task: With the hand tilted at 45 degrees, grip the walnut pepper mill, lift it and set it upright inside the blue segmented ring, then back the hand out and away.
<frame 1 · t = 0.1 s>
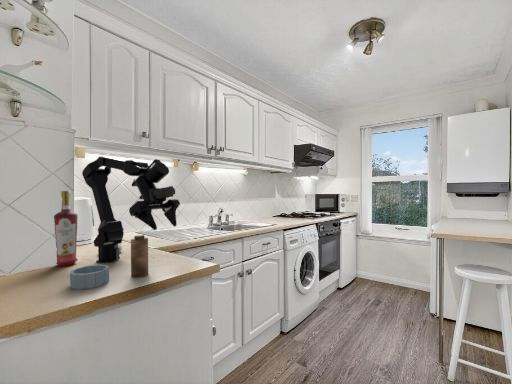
hand: (166, 227, 92), 15 cm above the counter, tool tilted 35°, fingers open, 9 cm apart
blue segmented ring: (90, 283, 80), on the counter
pepper mill: (139, 275, 87), on the counter
liquor: (66, 265, 101), on the counter
sea urchin shell: (110, 254, 118), on the counter
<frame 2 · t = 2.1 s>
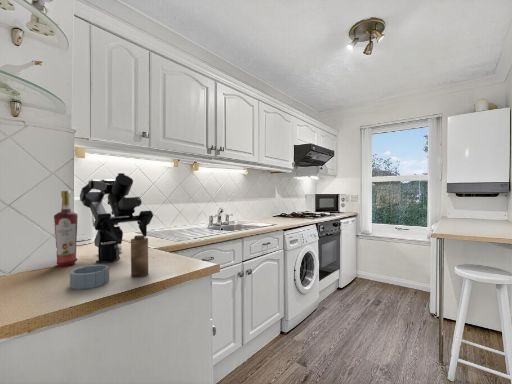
hand: (132, 238, 91), 12 cm above the counter, tool tilted 45°, fingers open, 9 cm apart
nothing on the counter moved.
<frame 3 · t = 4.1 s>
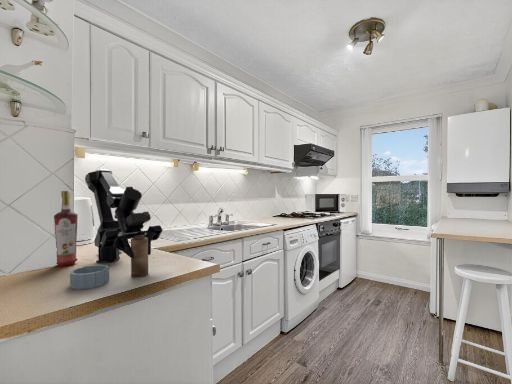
hand: (141, 255, 86), 7 cm above the counter, tool tilted 45°, fingers closed on pepper mill, 5 cm apart
pepper mill: (139, 275, 87), on the counter, touching gripper
everything else where it was.
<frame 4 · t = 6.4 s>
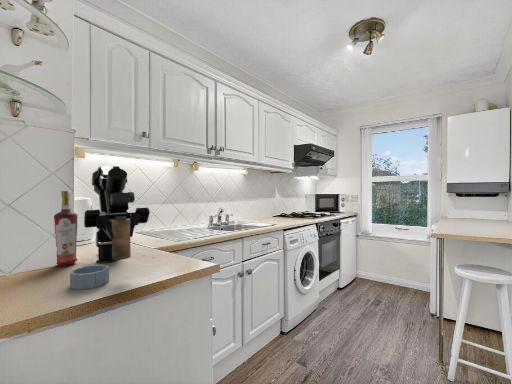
hand: (122, 237, 82), 13 cm above the counter, tool tilted 45°, fingers closed on pepper mill, 5 cm apart
pepper mill: (121, 257, 84), point 7 cm above the counter, touching gripper
everything else where it was.
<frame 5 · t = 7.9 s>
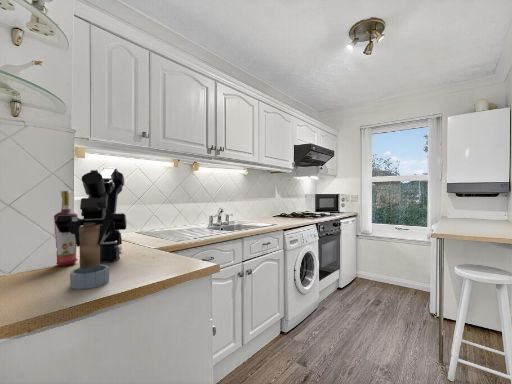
hand: (88, 245, 78), 12 cm above the counter, tool tilted 45°, fingers closed on pepper mill, 5 cm apart
pepper mill: (90, 266, 80), point 5 cm above the counter, touching gripper
everything else where it was.
when the fingers open (8 cm above the counter, at t = 9.0 s): pepper mill stays where it is, resting on blue segmented ring.
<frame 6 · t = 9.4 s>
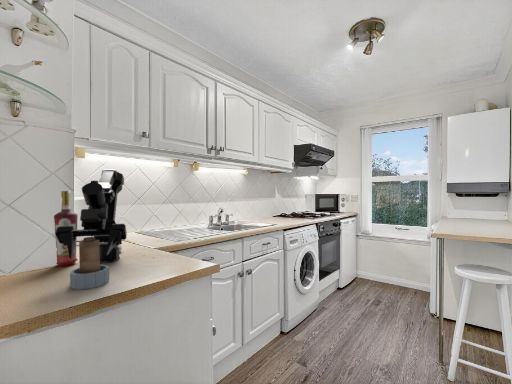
hand: (88, 256, 78), 9 cm above the counter, tool tilted 45°, fingers open, 9 cm apart
pepper mill: (90, 280, 80), point 1 cm above the counter, touching blue segmented ring
everything else where it was.
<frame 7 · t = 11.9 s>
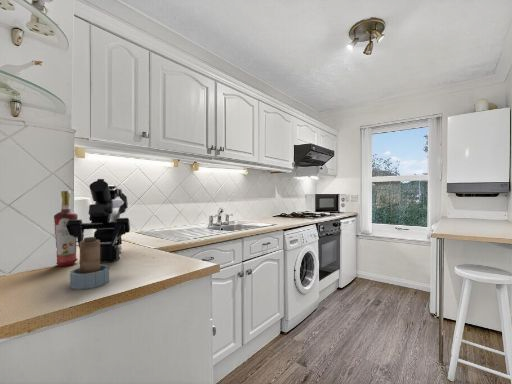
hand: (96, 246, 87), 10 cm above the counter, tool tilted 45°, fingers open, 9 cm apart
nothing on the counter moved.
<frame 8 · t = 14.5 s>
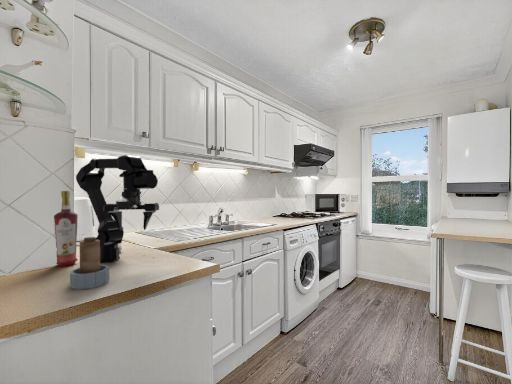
hand: (132, 229, 101), 13 cm above the counter, tool pointing down, fingers open, 9 cm apart
nothing on the counter moved.
at the end: pepper mill 0.1 cm off-centre on the blue segmented ring, point 0.8 cm above the blue segmented ring's base; pepper mill tilted 0°; the gripper is holding nothing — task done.
